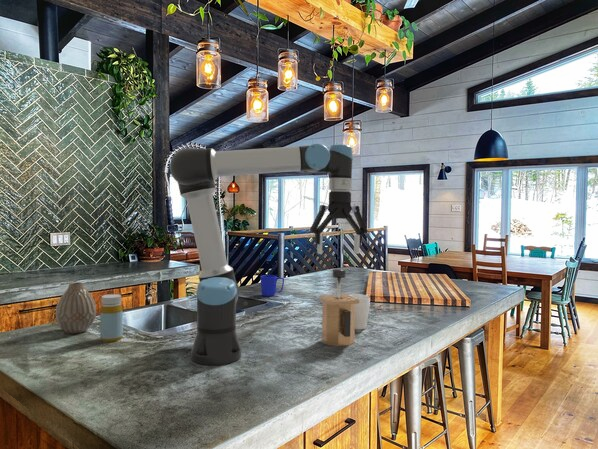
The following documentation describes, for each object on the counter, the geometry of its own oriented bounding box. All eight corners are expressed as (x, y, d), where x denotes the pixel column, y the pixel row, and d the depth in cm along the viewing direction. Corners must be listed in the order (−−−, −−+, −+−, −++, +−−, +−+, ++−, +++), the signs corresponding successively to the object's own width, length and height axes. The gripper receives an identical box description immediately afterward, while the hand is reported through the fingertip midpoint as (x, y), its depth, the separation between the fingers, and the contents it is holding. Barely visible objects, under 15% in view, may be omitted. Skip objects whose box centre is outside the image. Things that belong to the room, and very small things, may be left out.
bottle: (117, 335, 157) (117, 293, 156) (126, 339, 152) (125, 296, 151) (97, 339, 152) (96, 295, 151) (105, 343, 147) (104, 299, 146)
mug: (283, 297, 223) (283, 277, 222) (259, 297, 223) (259, 277, 222) (284, 294, 231) (284, 275, 230) (261, 293, 231) (261, 274, 231)
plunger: (332, 332, 148) (333, 271, 147) (323, 326, 155) (324, 268, 154) (353, 330, 150) (354, 271, 149) (343, 324, 157) (344, 267, 156)
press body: (332, 349, 144) (333, 303, 143) (318, 338, 156) (319, 295, 155) (361, 347, 147) (362, 302, 146) (345, 335, 159) (346, 294, 159)
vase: (50, 331, 161) (49, 283, 160) (87, 324, 170) (87, 278, 169) (63, 338, 152) (63, 288, 151) (102, 331, 161) (102, 283, 161)
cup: (368, 331, 165) (369, 299, 164) (344, 329, 167) (345, 298, 166) (369, 324, 174) (370, 294, 173) (346, 323, 176) (347, 293, 175)
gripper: (309, 189, 143) (307, 255, 144) (378, 192, 151) (376, 254, 152) (301, 190, 150) (300, 252, 151) (368, 192, 158) (366, 252, 159)
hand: (338, 253), depth 151 cm, fingers open, 13 cm apart
